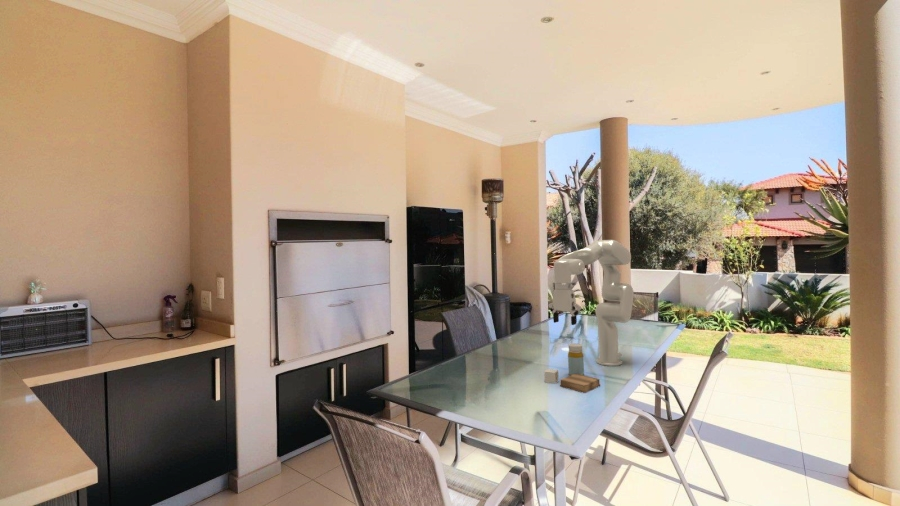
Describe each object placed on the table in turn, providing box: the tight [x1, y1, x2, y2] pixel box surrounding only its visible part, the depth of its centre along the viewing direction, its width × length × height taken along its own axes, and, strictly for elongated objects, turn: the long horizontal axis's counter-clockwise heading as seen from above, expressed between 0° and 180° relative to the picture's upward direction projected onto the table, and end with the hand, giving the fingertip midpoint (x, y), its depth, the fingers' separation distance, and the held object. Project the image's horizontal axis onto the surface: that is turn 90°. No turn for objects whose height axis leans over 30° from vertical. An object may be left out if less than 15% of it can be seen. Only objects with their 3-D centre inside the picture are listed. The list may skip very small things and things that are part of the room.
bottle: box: [567, 342, 585, 376], centre depth 196 cm, size 7×7×15 cm
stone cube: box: [543, 368, 559, 384], centre depth 191 cm, size 5×5×5 cm
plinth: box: [559, 374, 601, 394], centre depth 183 cm, size 12×12×3 cm
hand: (564, 323), depth 191 cm, fingers open, 9 cm apart
